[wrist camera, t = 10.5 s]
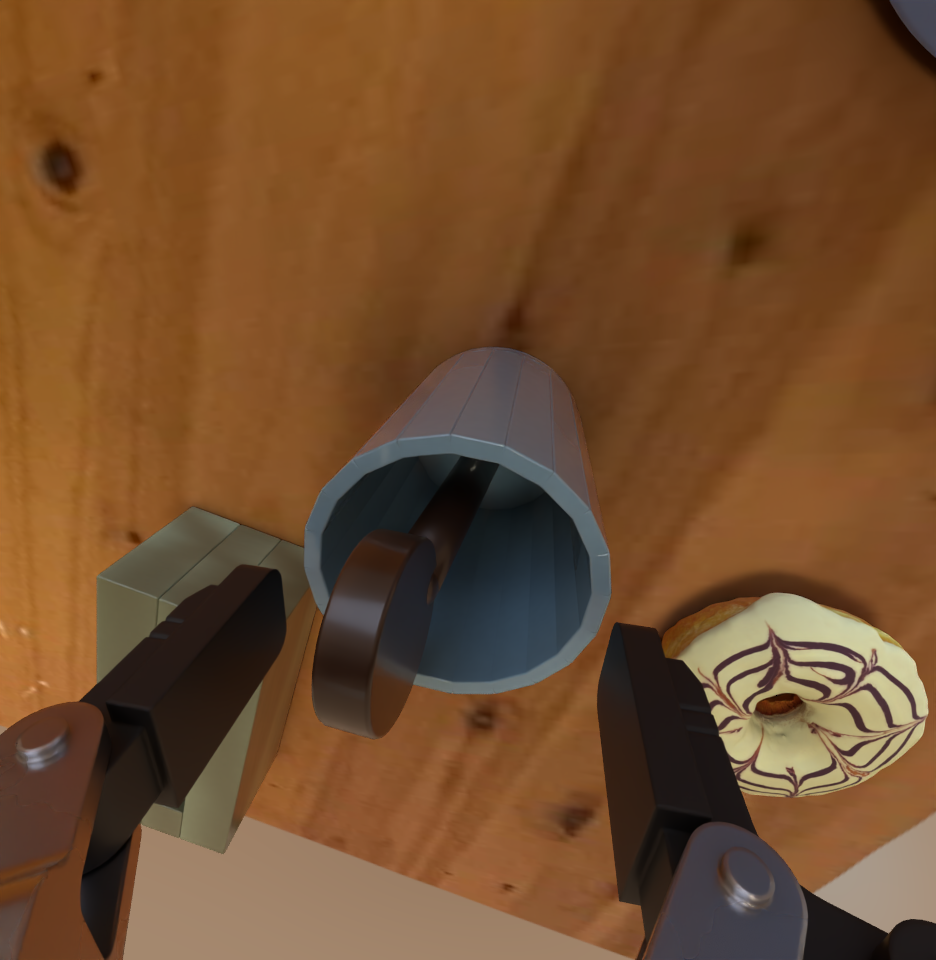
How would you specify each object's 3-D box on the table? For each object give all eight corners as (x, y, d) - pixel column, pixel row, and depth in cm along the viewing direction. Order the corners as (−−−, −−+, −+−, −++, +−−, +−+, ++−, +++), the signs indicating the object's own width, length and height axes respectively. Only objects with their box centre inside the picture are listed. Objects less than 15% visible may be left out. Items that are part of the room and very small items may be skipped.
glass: (401, 490, 23) (300, 659, 13) (420, 330, 20) (306, 404, 10) (556, 524, 22) (565, 721, 13) (601, 366, 19) (656, 476, 10)
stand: (170, 716, 32) (95, 808, 27) (192, 505, 25) (95, 575, 20) (276, 755, 33) (223, 855, 27) (330, 557, 25) (271, 641, 20)
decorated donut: (751, 535, 21) (791, 588, 18) (939, 652, 23) (1009, 723, 19) (603, 676, 26) (612, 741, 22) (766, 768, 27) (798, 843, 24)
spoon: (503, 487, 21) (377, 790, 9) (471, 481, 21) (308, 769, 9) (514, 396, 19) (376, 625, 7) (479, 391, 20) (293, 605, 8)
